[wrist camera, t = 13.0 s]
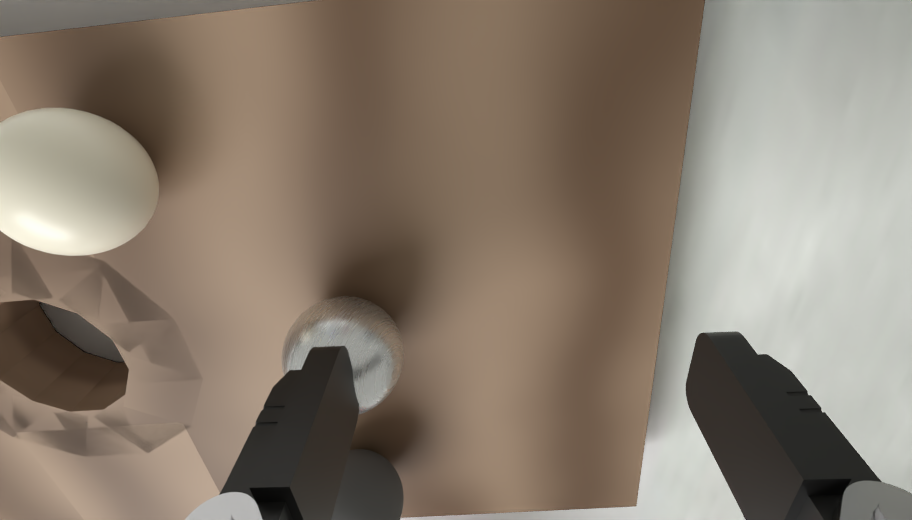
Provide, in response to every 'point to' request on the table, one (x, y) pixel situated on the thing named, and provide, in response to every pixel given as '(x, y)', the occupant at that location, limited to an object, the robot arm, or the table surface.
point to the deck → (359, 246)
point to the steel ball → (350, 344)
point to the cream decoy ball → (73, 182)
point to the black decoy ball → (369, 489)
